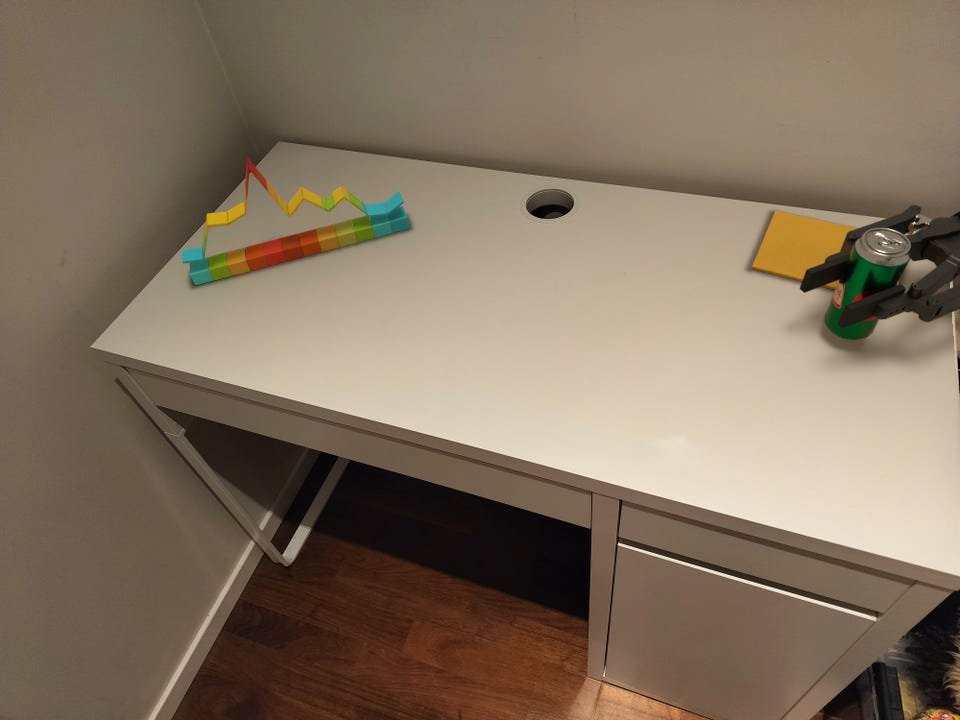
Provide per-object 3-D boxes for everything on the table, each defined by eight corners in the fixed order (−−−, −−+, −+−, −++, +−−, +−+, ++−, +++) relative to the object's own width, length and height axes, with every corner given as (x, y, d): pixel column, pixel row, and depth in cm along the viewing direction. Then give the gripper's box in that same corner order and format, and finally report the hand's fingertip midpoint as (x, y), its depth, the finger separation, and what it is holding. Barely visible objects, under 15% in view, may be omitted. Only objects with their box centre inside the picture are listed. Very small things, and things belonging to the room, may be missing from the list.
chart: (405, 215, 98) (383, 121, 86) (409, 228, 96) (388, 133, 84) (195, 271, 94) (144, 180, 83) (195, 285, 92) (143, 194, 81)
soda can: (830, 303, 77) (866, 219, 67) (878, 319, 74) (921, 234, 65) (816, 332, 74) (850, 248, 65) (864, 349, 72) (907, 265, 63)
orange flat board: (907, 241, 84) (908, 239, 84) (893, 304, 78) (894, 302, 77) (774, 212, 90) (775, 210, 90) (751, 268, 84) (752, 266, 83)
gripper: (1063, 307, 69) (876, 384, 65) (926, 211, 81) (760, 272, 77) (1107, 251, 64) (906, 332, 60) (953, 157, 75) (776, 219, 71)
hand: (824, 298), depth 68 cm, fingers closed on soda can, 5 cm apart
